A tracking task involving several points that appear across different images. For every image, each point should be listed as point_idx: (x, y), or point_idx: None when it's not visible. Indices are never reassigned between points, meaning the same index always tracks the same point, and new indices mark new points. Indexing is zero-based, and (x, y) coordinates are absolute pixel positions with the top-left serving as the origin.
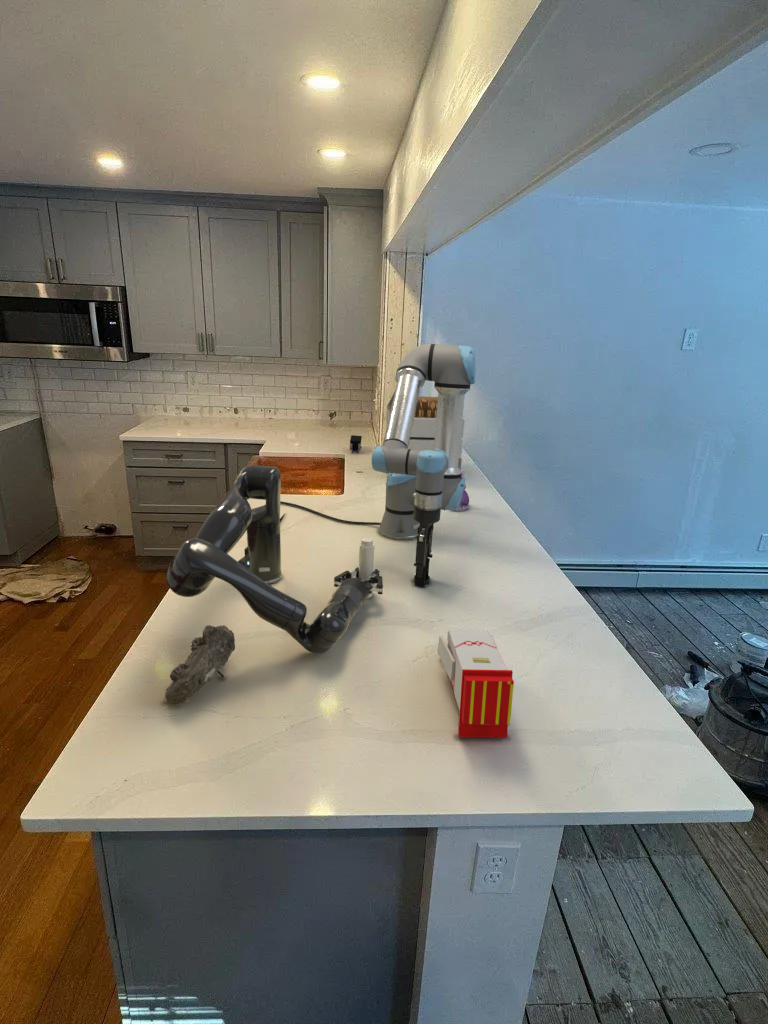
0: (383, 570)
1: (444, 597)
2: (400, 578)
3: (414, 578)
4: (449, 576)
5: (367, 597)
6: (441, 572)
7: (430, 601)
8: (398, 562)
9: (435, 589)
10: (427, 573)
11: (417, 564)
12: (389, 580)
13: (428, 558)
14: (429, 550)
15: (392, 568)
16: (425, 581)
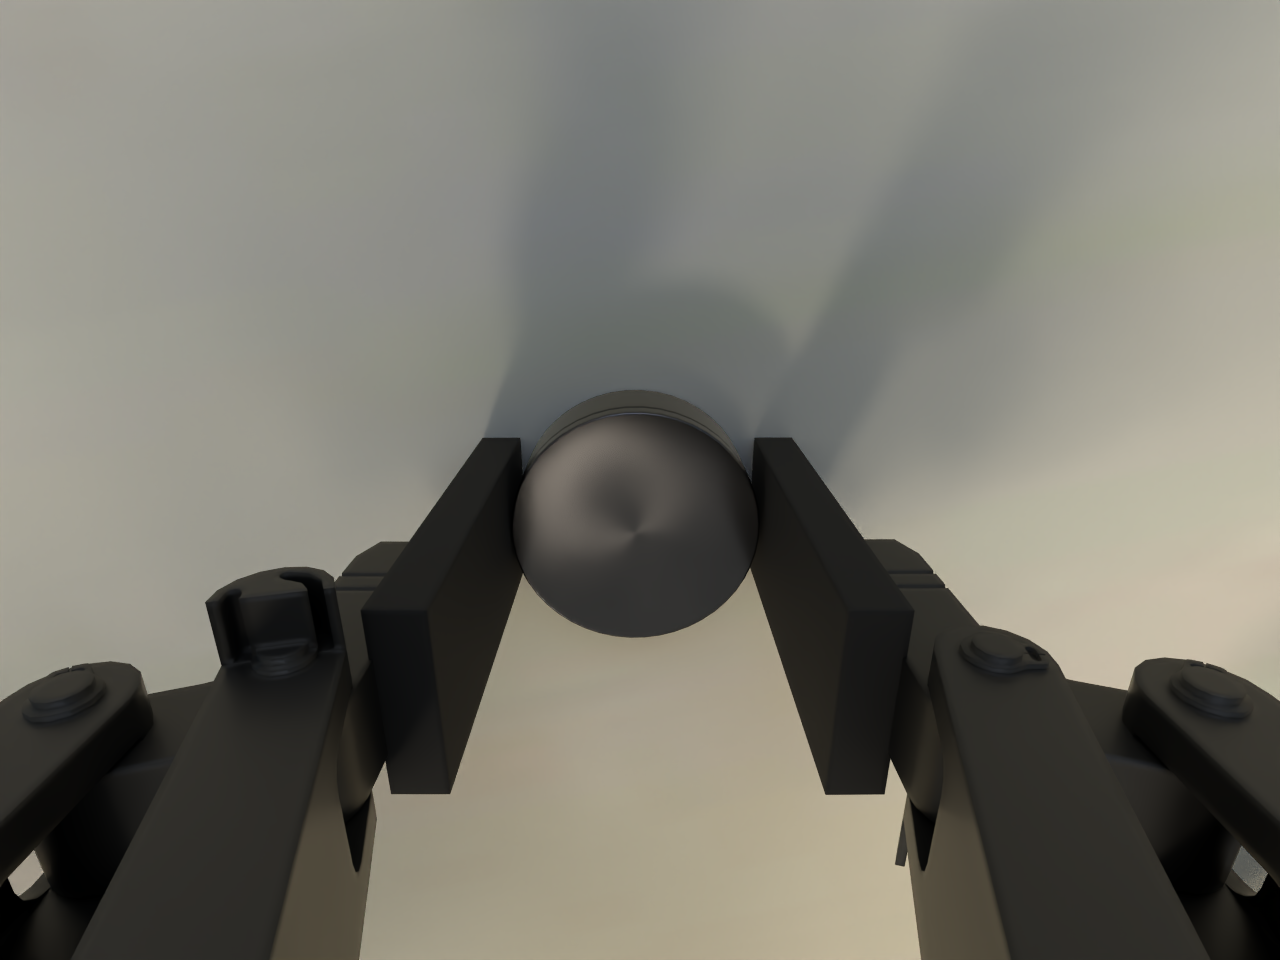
0: (500, 922)
1: (1049, 64)
2: (626, 742)
3: (687, 614)
4: (247, 107)
5: None
6: (173, 276)
7: (1200, 266)
8: None
9: (805, 263)
10: (500, 479)
11: (1235, 855)
12: (719, 826)
13: (383, 634)
14: (302, 814)
15: (405, 863)
16: (734, 454)
